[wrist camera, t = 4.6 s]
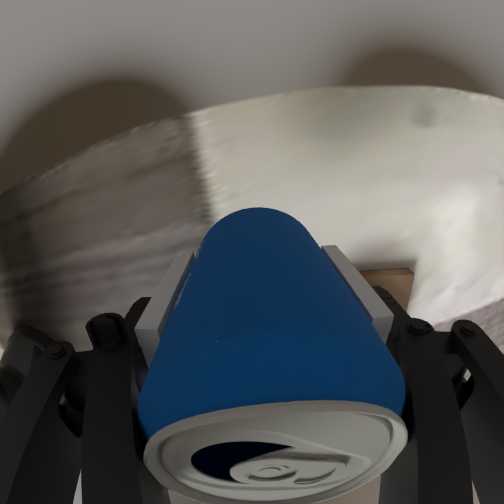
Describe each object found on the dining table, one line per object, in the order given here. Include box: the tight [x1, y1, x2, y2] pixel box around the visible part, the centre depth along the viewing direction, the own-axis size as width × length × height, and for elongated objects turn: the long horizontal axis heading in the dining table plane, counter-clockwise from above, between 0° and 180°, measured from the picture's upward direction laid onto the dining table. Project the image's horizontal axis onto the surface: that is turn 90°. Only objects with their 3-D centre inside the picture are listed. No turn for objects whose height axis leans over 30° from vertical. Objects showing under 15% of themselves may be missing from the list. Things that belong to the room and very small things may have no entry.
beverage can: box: [137, 207, 408, 504], centre depth 10 cm, size 6×6×12 cm
